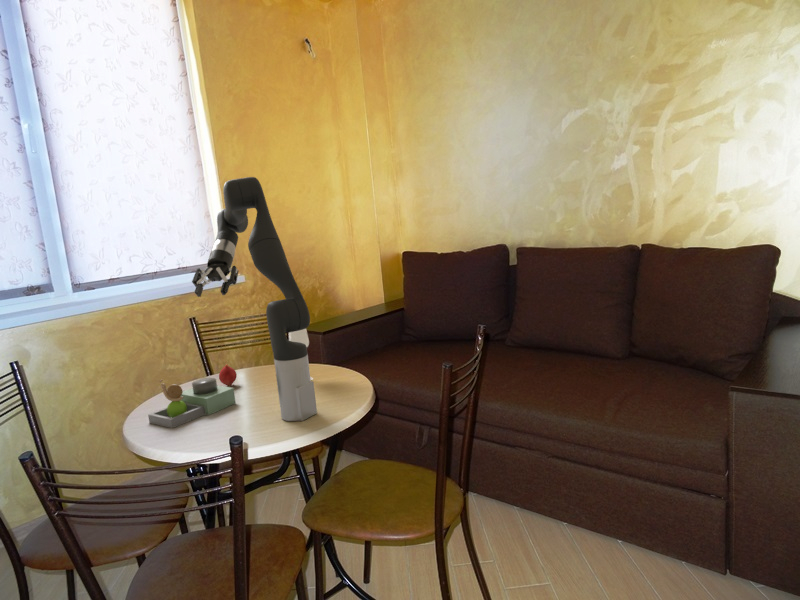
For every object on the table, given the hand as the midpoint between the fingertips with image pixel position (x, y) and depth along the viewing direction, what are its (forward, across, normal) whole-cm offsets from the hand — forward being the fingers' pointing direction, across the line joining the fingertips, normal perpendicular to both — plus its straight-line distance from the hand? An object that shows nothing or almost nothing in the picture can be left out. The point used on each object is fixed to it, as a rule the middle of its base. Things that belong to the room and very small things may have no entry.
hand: (210, 294), depth 165 cm
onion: (+17, -3, +30) cm, 35 cm away
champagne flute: (+15, +23, +33) cm, 43 cm away
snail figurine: (+38, -6, +10) cm, 39 cm away
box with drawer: (+34, -3, +13) cm, 37 cm away
